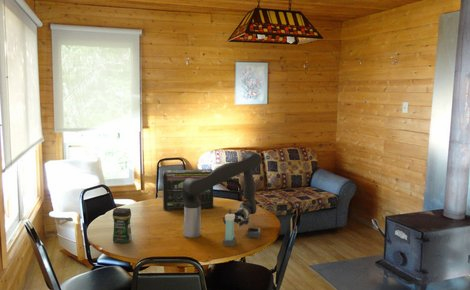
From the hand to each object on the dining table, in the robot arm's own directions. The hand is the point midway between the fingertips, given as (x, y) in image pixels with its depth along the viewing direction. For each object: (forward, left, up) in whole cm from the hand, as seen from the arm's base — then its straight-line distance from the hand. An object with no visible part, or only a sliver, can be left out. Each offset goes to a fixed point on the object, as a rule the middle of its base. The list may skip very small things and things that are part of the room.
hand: (232, 223), depth 231 cm
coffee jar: (-60, -10, -10) cm, 61 cm away
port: (+11, +10, -10) cm, 18 cm away
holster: (-1, -5, -10) cm, 11 cm away
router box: (-40, +60, -10) cm, 73 cm away
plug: (-1, -5, -10) cm, 11 cm away
